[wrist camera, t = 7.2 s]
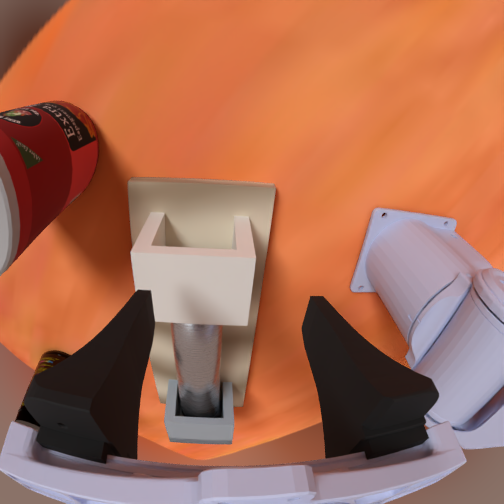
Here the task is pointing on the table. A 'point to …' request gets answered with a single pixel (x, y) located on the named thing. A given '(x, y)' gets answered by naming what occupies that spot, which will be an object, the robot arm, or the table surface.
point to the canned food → (41, 169)
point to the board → (206, 236)
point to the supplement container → (45, 363)
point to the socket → (199, 419)
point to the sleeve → (195, 276)
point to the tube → (198, 367)
